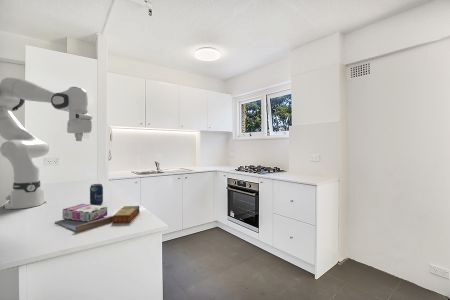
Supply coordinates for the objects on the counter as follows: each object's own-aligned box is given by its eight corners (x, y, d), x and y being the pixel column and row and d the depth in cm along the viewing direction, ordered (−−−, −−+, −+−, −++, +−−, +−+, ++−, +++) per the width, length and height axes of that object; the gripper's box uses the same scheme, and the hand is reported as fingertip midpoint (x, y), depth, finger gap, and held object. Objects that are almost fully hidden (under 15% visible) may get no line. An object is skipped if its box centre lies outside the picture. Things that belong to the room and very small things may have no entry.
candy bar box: (62, 219, 106) (88, 222, 102) (62, 209, 106) (88, 212, 102) (82, 212, 117) (107, 215, 112) (82, 203, 117) (107, 205, 112)
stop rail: (75, 231, 93) (75, 226, 93) (111, 220, 107) (111, 215, 107) (76, 232, 93) (76, 226, 92) (113, 221, 106) (113, 216, 106)
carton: (112, 224, 103) (111, 215, 103) (123, 213, 119) (123, 205, 119) (130, 223, 104) (130, 214, 104) (139, 212, 120) (139, 205, 120)
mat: (54, 222, 103) (54, 221, 103) (90, 213, 117) (90, 212, 117) (75, 231, 93) (75, 230, 93) (111, 220, 107) (111, 219, 107)
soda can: (97, 205, 131) (96, 186, 131) (87, 205, 133) (87, 185, 132) (105, 202, 138) (105, 183, 138) (96, 202, 139) (96, 183, 139)
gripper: (63, 116, 126) (63, 141, 126) (81, 114, 115) (81, 141, 115) (75, 118, 131) (75, 141, 132) (93, 116, 120) (94, 141, 121)
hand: (78, 141), depth 123 cm, fingers closed
